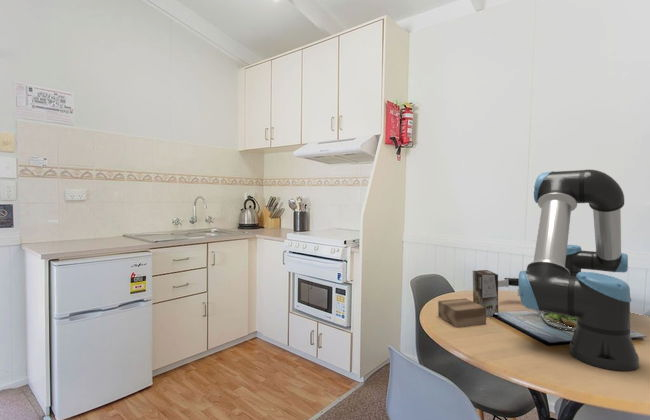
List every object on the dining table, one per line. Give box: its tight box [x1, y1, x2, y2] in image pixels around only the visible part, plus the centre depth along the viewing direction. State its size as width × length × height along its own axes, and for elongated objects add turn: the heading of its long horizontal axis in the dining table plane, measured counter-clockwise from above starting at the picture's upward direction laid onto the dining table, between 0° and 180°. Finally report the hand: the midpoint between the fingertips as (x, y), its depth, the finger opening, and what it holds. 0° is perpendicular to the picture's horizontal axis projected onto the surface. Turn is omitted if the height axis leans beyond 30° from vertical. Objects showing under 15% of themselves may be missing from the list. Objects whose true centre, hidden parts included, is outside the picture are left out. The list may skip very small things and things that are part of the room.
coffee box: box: [472, 269, 499, 317], centre depth 137 cm, size 9×6×16 cm
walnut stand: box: [437, 298, 487, 328], centre depth 129 cm, size 12×12×6 cm
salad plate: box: [540, 311, 577, 332], centre depth 122 cm, size 19×18×5 cm
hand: (505, 288), depth 139 cm, fingers open, 13 cm apart
